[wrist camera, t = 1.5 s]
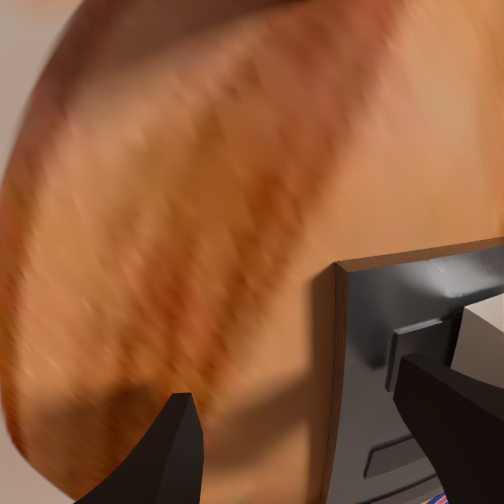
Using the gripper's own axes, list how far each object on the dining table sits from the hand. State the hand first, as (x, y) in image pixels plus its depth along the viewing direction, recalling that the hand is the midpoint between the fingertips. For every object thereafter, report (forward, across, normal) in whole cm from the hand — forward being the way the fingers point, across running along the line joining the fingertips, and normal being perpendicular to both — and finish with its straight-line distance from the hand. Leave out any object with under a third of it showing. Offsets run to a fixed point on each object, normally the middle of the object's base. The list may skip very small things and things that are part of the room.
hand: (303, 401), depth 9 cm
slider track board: (+2, -12, +7) cm, 14 cm away
